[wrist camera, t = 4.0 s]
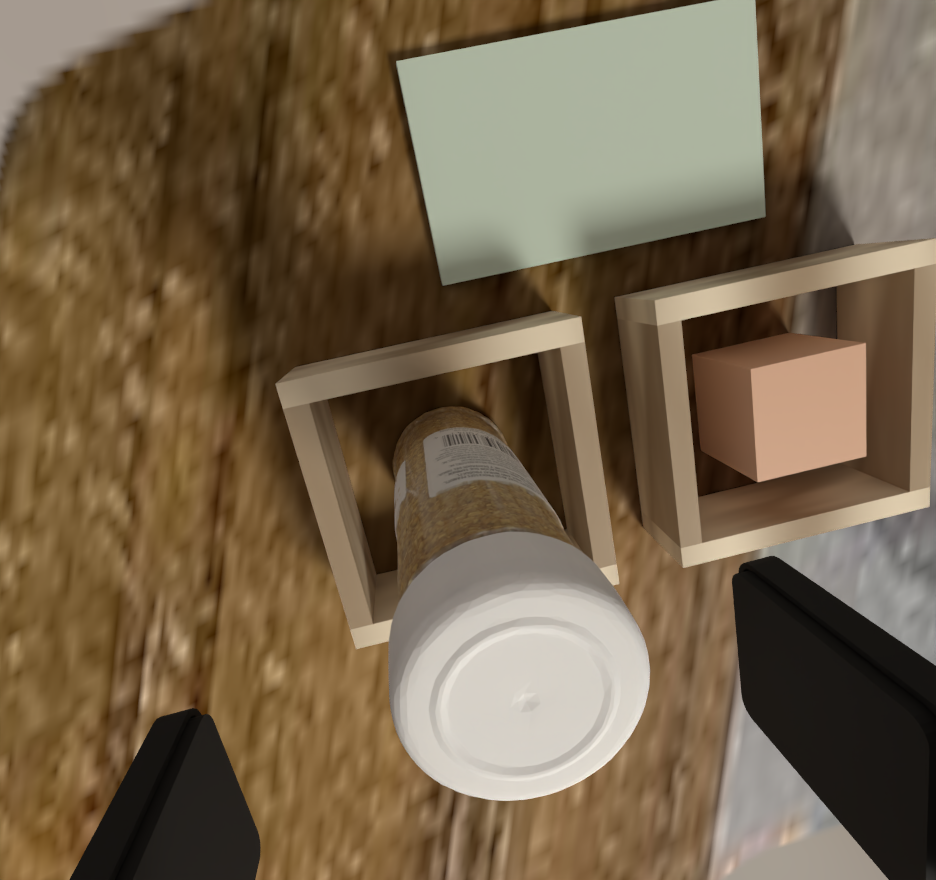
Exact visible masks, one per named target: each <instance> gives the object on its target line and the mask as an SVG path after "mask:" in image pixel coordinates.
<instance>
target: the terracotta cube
mask: <svg viewBox="0 0 936 880" xmlns="http://www.w3.org/2000/svg"><path fill="white" fill-rule="evenodd" d="M692 360H693V372H694V383H695V394H696V405H697V417H698V428H699V439H700V450H701V451H702V452H704V453H706V454H708V455H710V456H711V457H713V458H715V459H717V460H719V461H720V462H722V463H724V464H726V465H727V466H729V467H731V468H733V469H735V470H736V471H738V472H740V473H742V474H744V475H745V476H747V477H749V478H751V479H752V480H754V481H756V482H761V481H766V480H770V479H774V478H778V477H782V476H786V475H791V474H795V473H799V472H803V471H807V470H811V469H816V468H820V467H824V466H828V465H832V464H836V463H841V462H845V461H849V460H853V459H857V458H862V457H866V343H863V342H855V341H847V340H840V339H832V338H825V337H817V336H809V335H802V334H794V333H786V334H781V335H777V336H772V337H768V338H763V339H759V340H755V341H750V342H746V343H741V344H737V345H732V346H728V347H723V348H719V349H715V350H710V351H706V352H701V353H697V354H692Z"/></svg>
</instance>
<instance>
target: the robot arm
mask: <svg viewBox="0 0 936 880" xmlns="http://www.w3.org/2000/svg"><path fill="white" fill-rule="evenodd" d="M732 586H733V598H734V610H735V622H736V634H737V645H738V657H739V669H740V681H741V693H742V699H743V703H744V705H745V708H746V710H747V712H748V713H749V715H750V717H751V718H752V719H753V721H754V722H755V723H756V724H757V725H758V726H759V728H760V729H761V730H762V731H763V732H764V733H765V735H766V736H767V737H768V738H769V739H770V741H771V742H772V743H773V744H774V745H775V746H776V748H777V749H778V750H779V751H780V752H781V753H782V755H783V756H784V757H785V758H786V759H787V760H788V762H789V763H790V764H791V765H792V766H793V768H794V769H795V770H796V771H797V772H798V773H799V775H800V776H801V777H802V778H803V779H804V780H805V782H806V783H807V784H808V785H809V786H810V788H811V789H812V790H813V791H814V792H815V793H816V795H817V796H818V797H819V798H820V799H821V800H822V802H823V803H824V804H825V805H826V806H827V808H828V809H829V810H830V811H831V812H832V813H833V815H834V816H835V817H836V818H837V819H838V820H839V822H840V823H841V824H842V825H843V826H844V828H845V829H846V830H847V831H848V832H849V833H850V835H851V836H852V837H853V838H854V839H855V840H856V841H857V843H858V844H859V845H860V846H861V847H862V849H863V850H864V851H865V852H866V853H867V855H868V856H869V857H870V858H871V859H872V860H873V862H874V863H875V864H876V865H877V866H878V867H879V869H880V870H881V871H882V872H883V873H884V875H885V876H886V877H887V878H888V879H889V880H936V666H935V665H934V664H932V663H931V662H929V661H928V660H926V659H925V658H924V657H922V656H921V655H919V654H918V653H916V652H915V651H913V650H912V649H910V648H909V647H908V646H906V645H905V644H903V643H902V642H900V641H899V640H897V639H896V638H894V637H893V636H892V635H890V634H889V633H887V632H886V631H884V630H883V629H881V628H880V627H878V626H877V625H875V624H874V623H873V622H871V621H870V620H868V619H867V618H865V617H864V616H862V615H861V614H859V613H858V612H857V611H855V610H854V609H852V608H851V607H849V606H848V605H846V604H845V603H843V602H842V601H841V600H839V599H838V598H836V597H835V596H833V595H832V594H830V593H829V592H827V591H826V590H825V589H823V588H822V587H820V586H819V585H817V584H816V583H814V582H813V581H811V580H810V579H808V578H807V577H806V576H804V575H803V574H801V573H800V572H798V571H797V570H795V569H794V568H792V567H791V566H790V565H788V564H787V563H785V562H784V561H782V560H781V559H779V558H777V557H775V556H769V557H765V558H761V559H758V560H754V561H750V562H746V563H743V564H742V565H740V568H739V573H737V574H735V575H734V576H733V578H732ZM259 859H260V839H259V834H258V831H257V828H256V826H255V823H254V821H253V818H252V816H251V813H250V811H249V808H248V806H247V803H246V801H245V798H244V796H243V793H242V791H241V788H240V786H239V783H238V781H237V778H236V776H235V773H234V771H233V768H232V766H231V763H230V761H229V758H228V756H227V753H226V751H225V748H224V746H223V743H222V741H221V738H220V736H219V733H218V731H217V728H216V726H215V723H214V721H213V719H212V717H211V716H210V715H208V714H205V715H201V713H200V712H199V711H198V710H197V709H194V708H192V709H188V710H185V711H181V712H177V713H173V714H169V715H166V716H162V717H159V718H158V719H156V721H155V722H154V723H153V725H152V727H151V729H150V731H149V733H148V734H147V736H146V738H145V740H144V742H143V744H142V746H141V748H140V749H139V751H138V753H137V755H136V757H135V759H134V761H133V762H132V764H131V766H130V768H129V770H128V772H127V774H126V776H125V777H124V779H123V781H122V783H121V785H120V787H119V789H118V790H117V792H116V794H115V796H114V798H113V800H112V802H111V804H110V805H109V807H108V809H107V811H106V813H105V815H104V817H103V818H102V820H101V822H100V824H99V826H98V828H97V830H96V832H95V833H94V835H93V837H92V839H91V841H90V843H89V845H88V846H87V848H86V850H85V852H84V854H83V856H82V858H81V859H80V861H79V863H78V865H77V867H76V869H75V871H74V873H73V874H72V876H71V878H70V880H255V878H256V873H257V869H258V864H259Z"/></svg>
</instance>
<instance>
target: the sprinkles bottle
mask: <svg viewBox="0 0 936 880" xmlns="http://www.w3.org/2000/svg"><path fill="white" fill-rule="evenodd" d="M393 473H394V477H395V481H396V482H395V491H394V508H395V533H396V538H397V552H398V577H397V581H398V592H399V593H398V598H399V600H398V603H399V604H398V606H397V609H396V611H395V614H394V616H393V620H392V624H391V629H390V636H389V697H390V708H391V713H392V718H393V722H394V725H395V729H396V732H397V734H398V736H399V739H400V741H401V743H402V745H403V746H404V748H405V749H406V751H407V752H408V754H409V755H410V757H411V758H412V759H413V760H414V762H415V763H416V764H417V765H418V766H419V767H420V768H421V769H422V770H423V771H424V772H425V773H426V774H428V775H429V776H430V777H432V778H433V779H434V780H436V781H437V782H439V783H440V784H442V785H444V786H447V787H449V788H451V789H453V790H455V791H457V792H460V793H463V794H466V795H469V796H474V797H479V798H484V799H489V800H501V801H511V800H525V799H531V798H536V797H540V796H545V795H548V794H552V793H555V792H558V791H561V790H563V789H565V788H567V787H569V786H572V785H574V784H576V783H578V782H580V781H582V780H583V779H585V778H587V777H588V776H590V775H591V774H593V773H594V772H596V771H597V770H598V769H600V768H601V767H602V766H604V765H605V764H606V763H607V762H608V761H609V760H610V759H611V758H612V757H613V756H614V755H615V754H616V753H617V752H618V751H619V750H620V749H621V747H622V746H623V745H624V743H625V742H626V741H627V740H628V738H629V737H630V736H631V734H632V732H633V730H634V729H635V727H636V725H637V723H638V721H639V719H640V717H641V715H642V712H643V709H644V706H645V704H646V699H647V695H648V690H649V683H650V679H649V677H650V666H649V657H648V652H647V648H646V644H645V640H644V638H643V636H642V633H641V631H640V629H639V627H638V625H637V623H636V622H635V620H634V618H633V617H632V615H631V613H630V612H629V610H628V608H627V607H626V605H625V604H624V602H623V600H622V599H621V597H620V596H619V594H618V593H617V591H616V590H615V588H614V587H613V586H612V584H611V583H610V581H609V580H608V579H607V577H606V576H605V575H604V573H603V572H602V571H601V570H600V568H599V567H598V566H597V565H596V564H595V563H594V562H593V561H592V560H591V559H590V558H589V557H588V556H587V555H585V554H584V553H583V552H582V551H580V550H578V549H577V548H575V546H574V545H573V543H572V542H571V540H570V539H569V537H568V536H567V534H566V532H565V531H564V528H563V526H562V524H561V522H560V519H559V518H558V516H557V514H556V513H555V511H554V510H553V508H552V507H551V505H550V504H549V502H548V501H547V500H546V498H545V497H544V495H543V494H542V492H541V491H540V489H539V488H538V487H537V485H536V484H535V482H534V481H533V479H532V478H531V477H530V475H529V474H528V472H527V471H526V469H525V468H524V467H523V465H522V464H521V462H520V461H519V460H518V458H517V457H516V456H515V454H514V453H513V452H512V450H511V449H510V448H509V447H508V445H507V442H506V440H505V438H504V436H503V434H502V432H501V431H500V430H499V428H498V427H497V426H496V425H495V424H494V423H493V422H492V421H491V420H490V419H489V418H487V417H485V416H483V415H482V414H481V413H479V412H476V411H473V410H471V409H469V408H465V407H452V406H449V407H441V408H438V409H434V410H432V411H429V412H426V413H424V414H423V415H421V416H420V417H418V418H417V419H415V420H414V421H413V422H411V423H410V424H409V425H408V426H407V427H406V428H405V430H404V431H403V433H402V435H401V436H400V438H399V440H398V442H397V445H396V450H395V452H394V458H393Z"/></svg>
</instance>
